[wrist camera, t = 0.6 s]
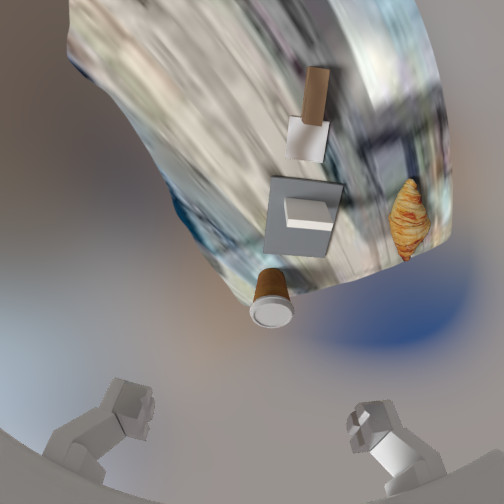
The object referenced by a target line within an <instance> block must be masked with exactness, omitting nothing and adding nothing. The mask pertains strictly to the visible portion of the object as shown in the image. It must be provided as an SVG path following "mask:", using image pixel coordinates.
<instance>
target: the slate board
mask: <svg viewBox="0 0 504 504" xmlns="http://www.w3.org/2000/svg"><path fill="white" fill-rule="evenodd" d="M342 189H343V185H342V184H338V183H331V182H323V181H315V180H307V179H298V178H289V177H279V176H271V185H270V194H269V203H268V212H267V221H266V229H265V238H264V247H263V253H267V254H280V255H293V256H306V257H320V258H324V257H325V253H326V250H327V246H328V243H329V239H330V236H331V232H332V230H331V231H326V230H315V229H305V228H293V227H287V224H286V216H285V209H284V201H285V198H295V199H304V200H314V201H322V202H325V203H326V206H327V208H328V211H329V214H330V216H331V219H332V221H333V225H334V221H335V217H336V213H337V209H338V205H339V201H340V197H341V193H342ZM332 228H333V227H332Z"/></svg>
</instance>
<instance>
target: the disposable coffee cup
mask: <svg viewBox="0 0 504 504" xmlns="http://www.w3.org/2000/svg"><path fill="white" fill-rule="evenodd" d="M293 314H294V307H293V305H292V304H291V302H290V298H289V294H288V290H287V286H286V283H285V278H284V274H283V273H282V272H281V271H280V270H278V269H275V268H268V269H265V270H263V271H262V272H261V273H260V274H259V276H258V281H257V286H256V291H255V296H254V300H253V304H252V306H251V308H250V315H251V317H252V319H253V321H254V322H255V323H256V324H257V325H260V326H262V327H266V328H277V327H281V326H284V325H286V324H287V323H288V322H289V321H290V320H291V318H292V316H293Z"/></svg>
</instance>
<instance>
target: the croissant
mask: <svg viewBox="0 0 504 504" xmlns="http://www.w3.org/2000/svg"><path fill="white" fill-rule="evenodd" d="M416 188H417V184H416V183H415V182H414V180H413V179H410V178H409V179H408V180H407V181H406V182H405V184H404V186H403V187H402V189H401V190H400V191H399V193H398V195H397V198H396V200H395V202H394V204H393V208H392V211H391V213H390V214H389V222H390V228H391V234H392V237H393V240H394V242H395V245H396V247H397V250H398V254H399V255H400V256H401V257H402V259H403V261H409V260H410V257H411V255H412V254H413V253H414V251H415V249H416V248H417V246H418V245H419V243H420V242H423V239H424V237H425V236H426V235H427V233H428V231H429V229H430V224H431V222H430V220H429V218H428V217H427V214H426V209H425V207H424V206H423V204H422V201H421V195H420V194H419V192H418V190H416Z"/></svg>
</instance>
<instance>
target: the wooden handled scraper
mask: <svg viewBox="0 0 504 504" xmlns="http://www.w3.org/2000/svg"><path fill="white" fill-rule="evenodd" d="M329 72H330V70H327V69H322V68H316V67H307V73H306V82H305V91H304V99H303V107H302V115H301V117H295V116H290V120H289V128H288V137H287V145H286V153H285V158H288V159H297V160H305V161H313V162H320V163H323V157H324V152H325V146H326V140H327V134H328V128H329V121H323V116H324V110H325V103H326V95H327V88H328V80H329Z"/></svg>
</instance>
